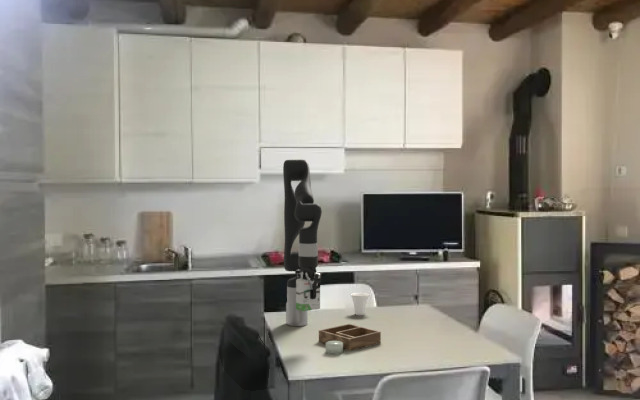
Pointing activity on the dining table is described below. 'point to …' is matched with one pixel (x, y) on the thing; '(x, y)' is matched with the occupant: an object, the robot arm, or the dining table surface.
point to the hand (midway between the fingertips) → (308, 297)
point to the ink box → (306, 296)
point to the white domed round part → (334, 347)
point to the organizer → (350, 336)
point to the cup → (360, 302)
